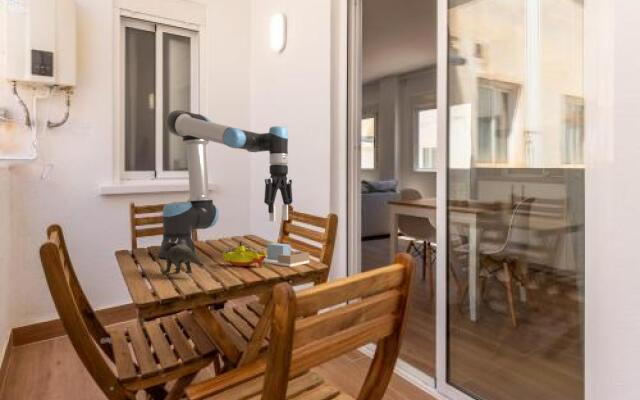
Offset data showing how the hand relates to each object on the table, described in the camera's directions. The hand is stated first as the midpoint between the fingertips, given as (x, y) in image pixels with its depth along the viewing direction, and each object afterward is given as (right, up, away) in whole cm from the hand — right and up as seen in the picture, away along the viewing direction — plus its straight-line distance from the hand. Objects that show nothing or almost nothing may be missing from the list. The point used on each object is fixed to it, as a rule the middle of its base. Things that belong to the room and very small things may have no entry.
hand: (278, 220), depth 158 cm
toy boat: (-13, -17, -10) cm, 24 cm away
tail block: (0, -16, 0) cm, 16 cm away
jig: (-5, -17, +5) cm, 18 cm away
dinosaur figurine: (-33, -18, -22) cm, 43 cm away
